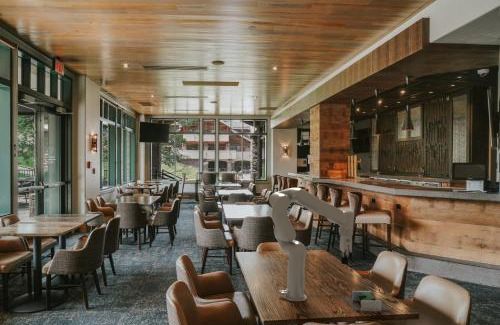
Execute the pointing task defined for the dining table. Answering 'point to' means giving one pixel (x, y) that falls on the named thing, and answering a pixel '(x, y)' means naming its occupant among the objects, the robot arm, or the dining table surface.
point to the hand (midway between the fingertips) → (344, 263)
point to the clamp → (366, 296)
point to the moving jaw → (355, 295)
